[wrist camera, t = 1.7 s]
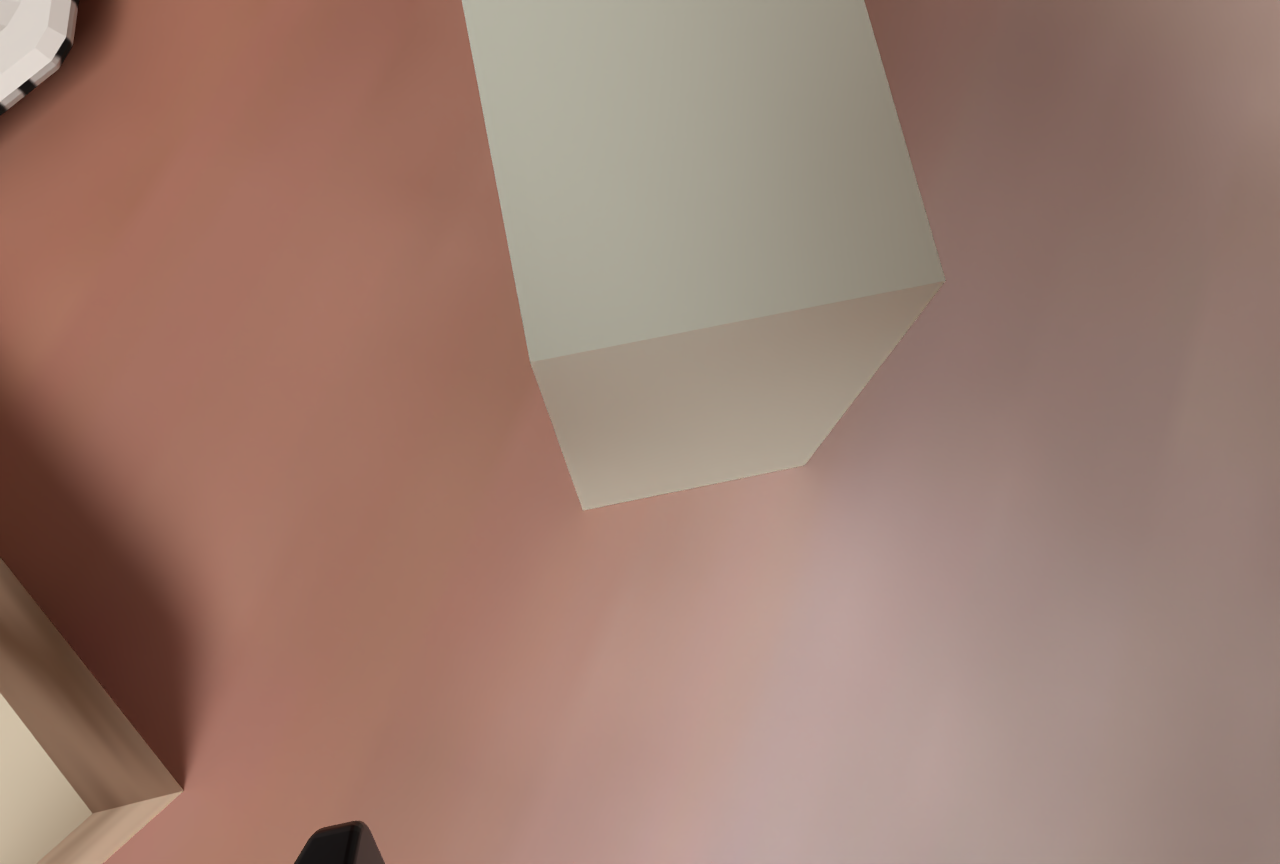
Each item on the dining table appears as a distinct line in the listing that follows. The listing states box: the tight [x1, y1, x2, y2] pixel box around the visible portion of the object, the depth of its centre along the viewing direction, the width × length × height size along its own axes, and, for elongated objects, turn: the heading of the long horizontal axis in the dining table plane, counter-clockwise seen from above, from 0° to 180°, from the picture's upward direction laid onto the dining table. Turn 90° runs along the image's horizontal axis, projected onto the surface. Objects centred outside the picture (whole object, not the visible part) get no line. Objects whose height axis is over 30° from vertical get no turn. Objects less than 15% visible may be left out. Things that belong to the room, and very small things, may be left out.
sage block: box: [462, 0, 946, 510], centre depth 18 cm, size 5×5×11 cm
